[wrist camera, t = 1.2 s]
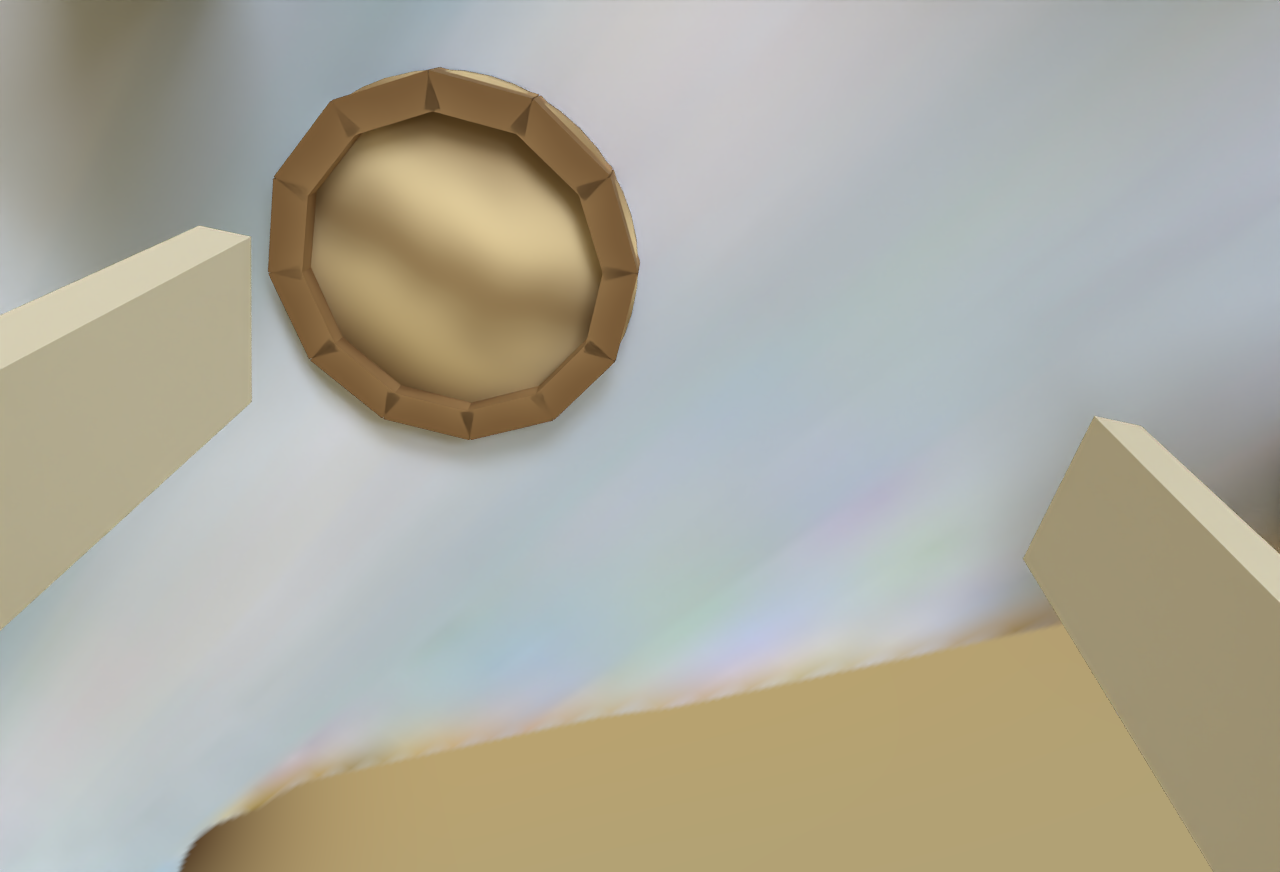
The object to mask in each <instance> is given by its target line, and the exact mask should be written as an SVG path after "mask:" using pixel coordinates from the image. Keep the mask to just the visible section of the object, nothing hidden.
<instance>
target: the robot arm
mask: <svg viewBox="0 0 1280 872" xmlns="http://www.w3.org/2000/svg"><path fill="white" fill-rule="evenodd" d="M251 402H252V383H251V237H250V236H245V235H240V234H236V233H231V232H226V231H222V230H217V229H212V228H208V227H203V226H197V227H195V228H193V229H191V230H189V231H186V232H184V233H182V234H180V235H177V236H175V237H173V238H171V239H169V240H166V241H164V242H162V243H160V244H157V245H155V246H153V247H151V248H149V249H146V250H144V251H142V252H140V253H137V254H135V255H133V256H131V257H129V258H126V259H124V260H122V261H120V262H117V263H115V264H113V265H111V266H109V267H106V268H104V269H102V270H100V271H98V272H95V273H93V274H91V275H89V276H86V277H84V278H82V279H80V280H78V281H75V282H73V283H71V284H69V285H66V286H64V287H62V288H60V289H58V290H55V291H53V292H51V293H49V294H46V295H44V296H42V297H40V298H38V299H35V300H33V301H31V302H29V303H27V304H24V305H22V306H20V307H18V308H15V309H13V310H11V311H9V312H7V313H4V314H2V315H0V630H1V629H2V628H4V627H5V626H6V625H7V624H8V623H9V622H10V621H11V620H12V619H13V618H15V617H16V616H17V615H18V614H19V613H20V612H21V611H22V610H23V609H24V608H26V607H27V606H28V605H29V604H30V603H31V602H32V601H33V600H34V599H35V598H37V597H38V596H39V595H40V594H41V593H42V592H43V591H44V590H45V589H46V588H48V587H49V586H50V585H51V584H52V583H53V582H54V581H55V580H56V579H57V578H59V577H60V576H61V575H62V574H63V573H64V572H65V571H66V570H67V569H68V568H70V567H71V566H72V565H73V564H74V563H75V562H76V561H77V560H78V559H79V558H81V557H82V556H83V555H84V554H85V553H86V552H87V551H88V550H89V549H90V548H92V547H93V546H94V545H95V544H96V543H97V542H98V541H99V540H100V539H101V538H103V537H104V536H105V535H106V534H107V533H108V532H109V531H110V530H111V529H112V528H113V527H115V526H116V525H117V524H118V523H119V522H120V521H121V520H122V519H123V518H124V517H126V516H127V515H128V514H129V513H130V512H131V511H132V510H133V509H134V508H135V507H137V506H138V505H139V504H140V503H141V502H142V501H143V500H144V499H145V498H146V497H148V496H149V495H150V494H151V493H152V492H153V491H154V490H155V489H156V488H157V487H159V486H160V485H161V484H162V483H163V482H164V481H165V480H166V479H167V478H168V477H170V476H171V475H172V474H173V473H174V472H175V471H176V470H177V469H178V468H179V467H181V466H182V465H183V464H184V463H185V462H186V461H187V460H188V459H189V458H190V457H192V456H193V455H194V454H195V453H196V452H197V451H198V450H199V449H200V448H201V447H203V446H204V445H205V444H206V443H207V442H208V441H209V440H210V439H211V438H212V437H214V436H215V435H216V434H217V433H218V432H219V431H220V430H221V429H222V428H223V427H225V426H226V425H227V424H228V423H229V422H230V421H231V420H232V419H233V418H234V417H236V416H237V415H238V414H239V413H240V412H241V411H242V410H243V409H244V408H245V407H247V406H248V405H249V404H250V403H251ZM1023 560H1024V561H1025V563H1026V565H1027V566H1028V568H1029V570H1030V571H1031V573H1032V574H1033V576H1034V578H1035V579H1036V581H1037V583H1038V584H1039V586H1040V588H1041V589H1042V591H1043V593H1044V594H1045V596H1046V597H1047V599H1048V601H1049V602H1050V604H1051V606H1052V607H1053V609H1054V611H1055V612H1056V614H1057V616H1058V617H1059V619H1060V621H1061V622H1062V624H1063V625H1064V627H1065V629H1066V630H1067V632H1068V634H1069V635H1070V637H1071V639H1072V640H1073V642H1074V644H1075V645H1076V647H1077V648H1078V650H1079V652H1080V653H1081V655H1082V657H1083V658H1084V660H1085V662H1086V663H1087V665H1088V667H1089V668H1090V670H1091V671H1092V673H1093V675H1094V676H1095V678H1096V680H1097V681H1098V683H1099V685H1100V686H1101V688H1102V690H1103V691H1104V693H1105V695H1106V696H1107V698H1108V699H1109V701H1110V703H1111V704H1112V706H1113V707H1114V709H1115V711H1116V712H1117V714H1118V716H1119V718H1120V719H1121V721H1122V722H1123V724H1124V726H1125V727H1126V729H1127V731H1128V732H1129V734H1130V736H1131V737H1132V739H1133V741H1134V742H1135V744H1136V745H1137V747H1138V749H1139V750H1140V752H1141V754H1142V755H1143V757H1144V759H1145V760H1146V762H1147V764H1148V765H1149V767H1150V769H1151V770H1152V772H1153V773H1154V775H1155V777H1156V778H1157V780H1158V782H1159V783H1160V785H1161V787H1162V788H1163V790H1164V792H1165V793H1166V795H1167V796H1168V798H1169V800H1170V801H1171V803H1172V805H1173V806H1174V808H1175V810H1176V811H1177V813H1178V815H1179V816H1180V818H1181V819H1182V821H1183V823H1184V824H1185V826H1186V828H1187V829H1188V831H1189V833H1190V834H1191V836H1192V838H1193V839H1194V841H1195V843H1196V844H1197V846H1198V847H1199V849H1200V851H1201V852H1202V854H1203V856H1204V857H1205V859H1206V861H1207V862H1208V864H1209V866H1210V867H1211V869H1212V870H1213V872H1280V554H1279V553H1278V552H1277V551H1276V550H1275V549H1274V548H1272V547H1271V546H1270V545H1269V544H1268V543H1267V542H1266V541H1265V540H1264V539H1263V538H1262V537H1261V536H1260V535H1258V534H1257V533H1256V532H1255V531H1254V530H1253V529H1252V528H1251V527H1250V526H1249V525H1248V524H1247V523H1245V522H1244V521H1243V520H1242V519H1241V518H1240V517H1239V516H1238V515H1237V514H1236V513H1235V512H1234V511H1232V510H1231V509H1230V508H1229V507H1228V506H1227V505H1226V504H1225V503H1224V502H1223V501H1222V500H1221V499H1220V498H1218V497H1217V496H1216V495H1215V494H1214V493H1213V492H1212V491H1211V490H1210V489H1209V488H1208V487H1207V486H1205V485H1204V484H1203V483H1202V482H1201V481H1200V480H1199V479H1198V478H1197V477H1196V476H1195V475H1194V474H1192V473H1191V472H1190V471H1189V470H1188V469H1187V468H1186V467H1185V466H1184V465H1183V464H1182V463H1181V462H1179V461H1178V460H1177V459H1176V458H1175V457H1174V456H1173V455H1172V454H1171V453H1170V452H1169V451H1168V450H1167V449H1165V448H1164V447H1163V446H1162V445H1161V444H1160V443H1159V442H1158V441H1157V440H1156V439H1155V438H1154V437H1152V436H1151V435H1150V434H1149V433H1148V432H1147V431H1146V430H1145V429H1144V428H1143V427H1142V426H1139V425H1134V424H1129V423H1125V422H1120V421H1115V420H1110V419H1106V418H1101V417H1096V416H1094V418H1093V420H1092V422H1091V424H1090V426H1089V428H1088V430H1087V432H1086V434H1085V436H1084V438H1083V440H1082V442H1081V444H1080V446H1079V448H1078V450H1077V452H1076V454H1075V456H1074V458H1073V460H1072V462H1071V464H1070V466H1069V468H1068V470H1067V472H1066V474H1065V476H1064V478H1063V480H1062V482H1061V484H1060V486H1059V488H1058V490H1057V492H1056V494H1055V496H1054V498H1053V500H1052V502H1051V504H1050V506H1049V508H1048V510H1047V512H1046V514H1045V516H1044V518H1043V520H1042V522H1041V524H1040V526H1039V528H1038V530H1037V532H1036V534H1035V536H1034V538H1033V540H1032V542H1031V544H1030V546H1029V548H1028V550H1027V552H1026V554H1025V556H1024V558H1023Z"/></svg>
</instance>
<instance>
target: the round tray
mask: <svg viewBox="0 0 1280 872" xmlns="http://www.w3.org/2000/svg"><path fill="white" fill-rule="evenodd" d="M274 177H275V178H273V192H272V210H271V228H270V246H269V264H268V272H270V273H269V276H270V278H271V280H272V282H273V284H274V287H275V289H276V291H277V293H278V295H279V297H280V299H281V301H282V303H283V305H284V307H285V310H286V312H287V314H288V316H289V318H290V320H291V322H292V324H293V326H294V328H295V330H296V332H297V335H298V337H299V339H300V341H301V343H302V345H303V347H304V349H305V351H306V353H307V355H308V358H309V359H310V358H312V359H311V361H312V362H313V363H314V364H316V365H317V366H318V367H319V368H320V369H322V370H323V371H324V372H325V373H327V374H328V375H329V376H330V377H332V378H333V379H334V380H335V381H337V382H338V383H339V384H340V385H342V386H343V387H344V388H345V389H347V390H348V391H349V392H350V393H351V394H353V395H354V396H355V397H356V398H358V399H359V400H360V401H361V402H363V403H364V404H365V405H366V406H368V407H369V408H370V409H371V410H373V411H374V412H375V413H376V414H378V415H379V416H380V417H381V418H383V417H384V419H386V420H390V421H394V422H398V423H402V424H406V425H410V426H414V427H418V428H423V429H427V430H431V431H435V432H439V433H443V434H447V435H451V436H455V437H459V438H463V439H467V440H469V439H471V440H473V439H477V438H481V437H486V436H490V435H494V434H498V433H502V432H507V431H511V430H515V429H519V428H524V427H528V426H532V425H536V424H540V423H545V422H549V421H553V419H556V418H557V417H558V416H559V415H560V414H561V413H562V412H563V411H564V410H565V409H566V408H567V407H568V406H569V405H570V404H571V403H572V402H573V401H574V400H575V399H576V398H578V397H579V396H580V395H581V394H582V393H583V392H584V391H585V390H586V389H587V388H588V387H589V386H590V385H591V384H592V383H593V382H594V381H595V380H596V379H597V378H599V377H600V376H601V375H602V374H603V373H604V372H605V371H606V370H607V369H608V368H609V367H610V366H611V365H612V364H613V363H614V362H615V360H616V357H617V353H618V349H619V345H620V342H621V340H622V338H623V336H624V334H625V332H626V329H627V326H628V323H629V320H630V317H631V314H632V310H633V304H634V299H635V294H636V288H637V277H638V271H639V265H640V260H639V257H638V253H637V240H636V235H635V230H634V225H633V221H632V216H631V213H630V210H629V207H628V205H627V202H626V199H625V196H624V193H623V191H622V189H621V187H620V185H619V183H618V181H617V179H616V176H615V172H614V170H612V167H611V166H610V165H609V164H608V163H607V162H606V160H605V159H604V157H603V156H602V154H601V153H600V151H599V150H598V148H597V147H596V146H595V145H594V144H593V143H592V142H591V140H590V139H589V138H588V137H587V136H586V135H585V134H584V132H583V131H582V130H581V129H580V128H579V127H578V126H577V125H576V124H574V123H573V122H572V121H571V120H570V119H569V118H568V117H567V116H565V115H564V114H563V113H562V112H561V111H559V110H558V109H557V108H555V107H554V106H552V105H551V104H549V103H548V102H547V101H546V100H545V99H544V98H543V97H542V96H541V95H540V96H539V94H536V93H532V92H529V91H527V90H525V89H523V88H521V87H519V86H517V85H515V84H512V83H510V82H507V81H504V80H501V79H498V78H495V77H492V76H489V75H484V74H479V73H474V72H469V71H462V70H449V69H445V68H441V67H440V68H439V67H438V68H434V69H430V70H423V71H414V72H409V73H405V74H401V75H397V76H392V77H388V78H384V79H382V80H379V81H377V82H374V83H372V84H369V85H367V86H364V87H362V88H360V89H359V90H357V91H355V92H354V93H352V94H350V95H347V96H343V97H340V98H337V99H334V100H332V101H330V102H329V104H328V105H327V106H326V108H325V109H324V110H323V112H322V113H321V114H320V116H319V117H318V118H317V120H316V121H315V122H314V124H313V125H312V126H311V128H310V129H309V130H308V132H307V133H306V134H305V136H304V137H303V138H302V140H301V141H300V142H299V144H298V145H297V146H296V148H295V149H294V150H293V152H292V153H291V154H290V156H289V157H288V158H287V160H286V161H285V163H284V164H283V165H282V167H281V168H280V169H279V171H278V172H277V173H276V175H275V176H274Z"/></svg>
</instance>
